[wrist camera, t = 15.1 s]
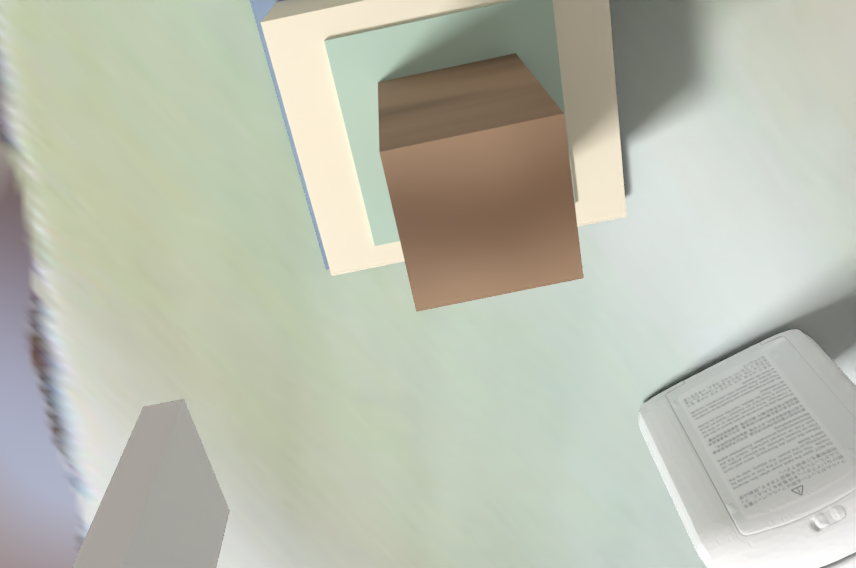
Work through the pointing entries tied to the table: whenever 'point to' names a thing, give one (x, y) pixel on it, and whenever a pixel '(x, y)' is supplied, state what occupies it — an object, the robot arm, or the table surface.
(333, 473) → the table surface
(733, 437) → the photo printer
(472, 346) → the table surface
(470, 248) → the walnut block
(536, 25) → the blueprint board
